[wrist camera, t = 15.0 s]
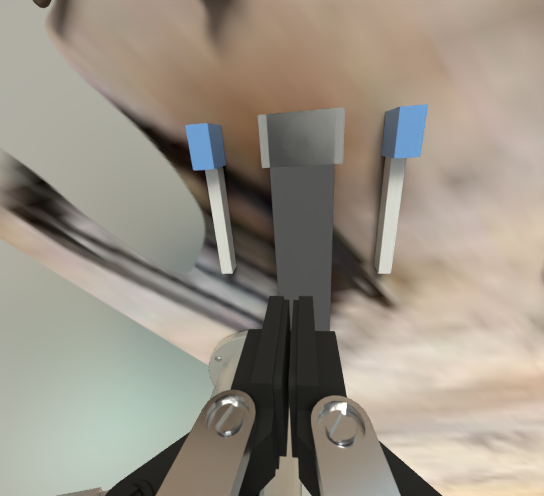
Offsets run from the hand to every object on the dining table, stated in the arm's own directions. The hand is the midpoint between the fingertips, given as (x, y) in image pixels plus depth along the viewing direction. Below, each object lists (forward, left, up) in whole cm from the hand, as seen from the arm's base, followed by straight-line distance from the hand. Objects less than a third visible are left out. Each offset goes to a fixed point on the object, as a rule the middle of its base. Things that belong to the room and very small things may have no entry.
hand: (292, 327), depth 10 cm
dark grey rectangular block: (0, 0, -14) cm, 14 cm away
